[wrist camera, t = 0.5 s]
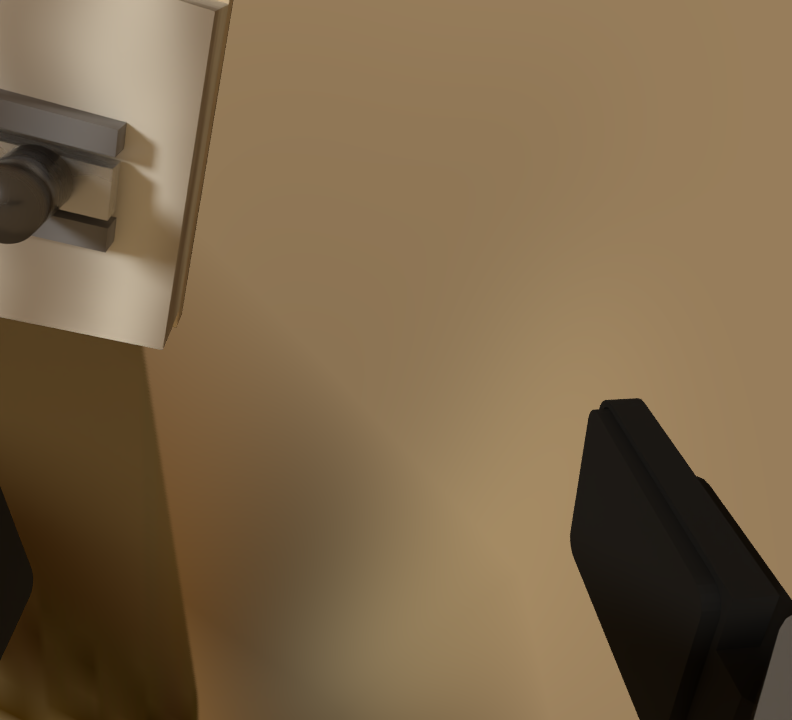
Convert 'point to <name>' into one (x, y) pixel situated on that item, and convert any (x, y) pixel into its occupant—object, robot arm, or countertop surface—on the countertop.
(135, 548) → the countertop surface
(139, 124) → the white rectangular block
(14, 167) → the bolt
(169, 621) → the countertop surface
